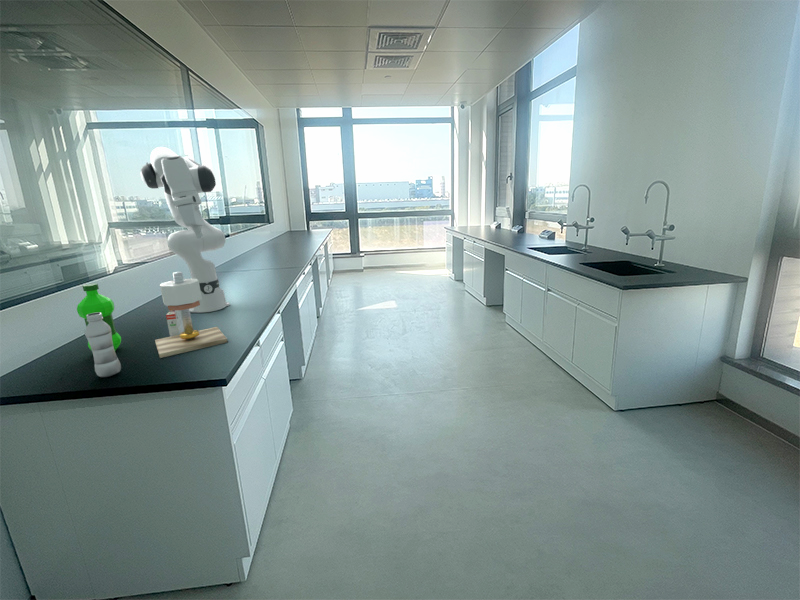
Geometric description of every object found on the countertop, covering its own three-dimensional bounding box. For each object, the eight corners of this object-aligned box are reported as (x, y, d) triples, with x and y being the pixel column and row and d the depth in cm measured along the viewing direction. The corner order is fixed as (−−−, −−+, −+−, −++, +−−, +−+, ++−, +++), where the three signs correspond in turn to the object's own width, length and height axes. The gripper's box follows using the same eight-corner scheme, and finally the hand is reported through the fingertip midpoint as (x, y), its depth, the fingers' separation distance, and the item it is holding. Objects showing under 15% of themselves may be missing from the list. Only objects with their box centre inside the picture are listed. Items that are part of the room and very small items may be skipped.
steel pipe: (179, 338, 148) (166, 272, 141) (198, 334, 152) (186, 270, 145) (182, 343, 143) (168, 275, 136) (201, 339, 146) (188, 272, 140)
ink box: (170, 338, 153) (162, 303, 149) (174, 332, 161) (167, 298, 157) (180, 337, 154) (173, 301, 150) (184, 331, 162) (177, 297, 158)
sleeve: (162, 301, 145) (158, 282, 143) (198, 295, 151) (194, 277, 150) (165, 307, 135) (161, 287, 133) (203, 300, 142) (200, 282, 140)
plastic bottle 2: (127, 370, 126) (112, 310, 120) (110, 379, 119) (94, 317, 114) (109, 370, 126) (93, 311, 121) (91, 379, 120) (74, 317, 115)
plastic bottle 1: (82, 357, 139) (63, 288, 132) (107, 346, 149) (91, 281, 142) (107, 357, 137) (89, 288, 131) (131, 346, 147) (115, 281, 141)
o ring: (167, 306, 145) (166, 302, 145) (196, 301, 151) (196, 297, 150) (170, 312, 137) (169, 307, 137) (201, 306, 143) (200, 302, 142)
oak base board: (155, 343, 149) (154, 339, 148) (217, 330, 161) (217, 326, 160) (159, 358, 134) (159, 353, 134) (227, 342, 146) (226, 338, 146)
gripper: (184, 205, 154) (196, 239, 157) (171, 201, 135) (185, 240, 138) (201, 201, 155) (213, 235, 159) (191, 197, 136) (204, 236, 139)
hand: (200, 238), depth 148 cm, fingers closed
